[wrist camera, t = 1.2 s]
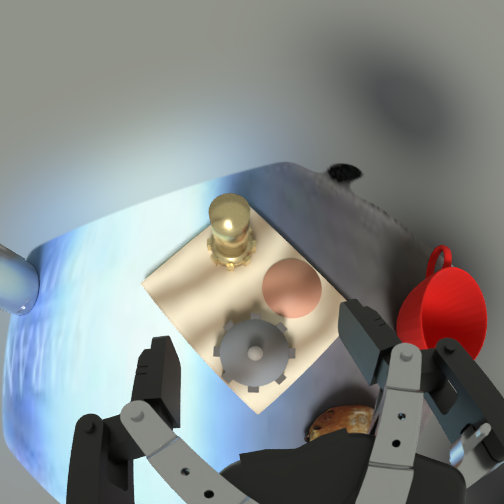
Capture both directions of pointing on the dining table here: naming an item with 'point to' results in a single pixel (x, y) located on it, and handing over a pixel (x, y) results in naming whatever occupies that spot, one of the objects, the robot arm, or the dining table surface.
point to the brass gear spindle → (230, 232)
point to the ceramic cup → (444, 308)
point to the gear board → (249, 312)
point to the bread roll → (341, 421)
